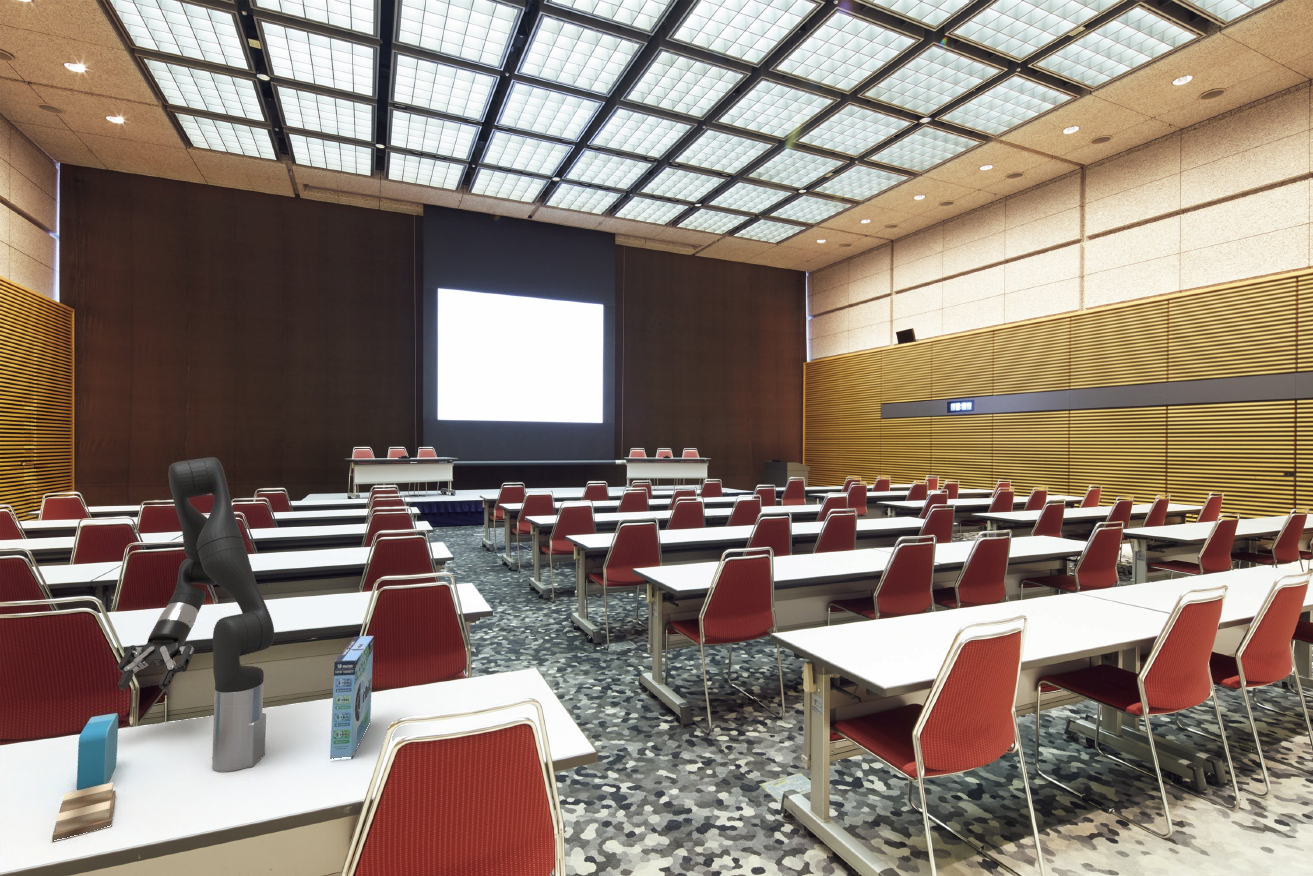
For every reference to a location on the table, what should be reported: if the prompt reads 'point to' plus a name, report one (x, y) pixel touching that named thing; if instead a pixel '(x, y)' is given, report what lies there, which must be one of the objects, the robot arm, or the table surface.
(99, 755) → the data package
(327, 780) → the table surface
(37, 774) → the table surface
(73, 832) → the display stand
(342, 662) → the blue product box
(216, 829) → the table surface
